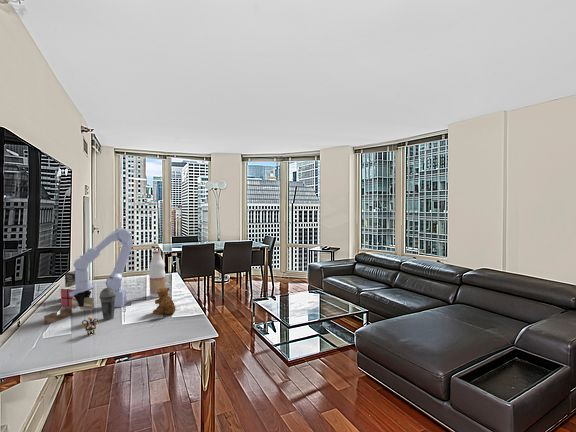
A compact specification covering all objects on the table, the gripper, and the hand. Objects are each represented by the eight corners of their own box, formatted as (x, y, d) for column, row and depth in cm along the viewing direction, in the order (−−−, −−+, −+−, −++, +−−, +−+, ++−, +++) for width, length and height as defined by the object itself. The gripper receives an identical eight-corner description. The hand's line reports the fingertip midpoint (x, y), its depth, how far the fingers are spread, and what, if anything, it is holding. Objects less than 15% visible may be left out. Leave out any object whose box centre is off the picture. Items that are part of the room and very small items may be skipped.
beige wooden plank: (75, 307, 178) (74, 296, 178) (94, 308, 176) (93, 297, 176) (72, 308, 177) (71, 297, 176) (91, 309, 174) (91, 298, 174)
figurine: (88, 337, 142) (89, 318, 142) (80, 335, 144) (81, 317, 144) (98, 334, 146) (99, 315, 147) (91, 332, 148) (91, 314, 148)
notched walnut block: (69, 314, 172) (68, 306, 172) (72, 314, 172) (71, 307, 172) (44, 324, 159) (44, 316, 159) (47, 324, 158) (47, 316, 158)
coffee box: (65, 298, 201) (64, 272, 201) (75, 296, 207) (74, 270, 206) (75, 300, 198) (74, 273, 197) (85, 297, 204) (84, 271, 203)
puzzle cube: (75, 307, 185) (75, 289, 184) (60, 306, 187) (60, 289, 186) (89, 301, 194) (89, 285, 194) (75, 301, 196) (74, 284, 196)
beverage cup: (100, 322, 160) (98, 281, 159) (100, 317, 167) (99, 278, 166) (116, 319, 164) (115, 279, 163) (116, 315, 170) (115, 277, 169)
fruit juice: (152, 298, 198) (151, 252, 197) (148, 295, 206) (146, 251, 204) (168, 295, 204) (166, 251, 203) (163, 292, 212) (161, 249, 210)
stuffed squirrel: (169, 307, 181) (168, 284, 181) (181, 313, 171) (180, 288, 171) (151, 312, 174) (150, 287, 174) (162, 318, 164) (162, 292, 164)
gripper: (86, 277, 183) (87, 301, 184) (63, 284, 169) (65, 309, 170) (97, 277, 182) (98, 301, 183) (75, 284, 168) (76, 310, 169)
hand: (83, 305), depth 176 cm, fingers closed on beige wooden plank, 2 cm apart
